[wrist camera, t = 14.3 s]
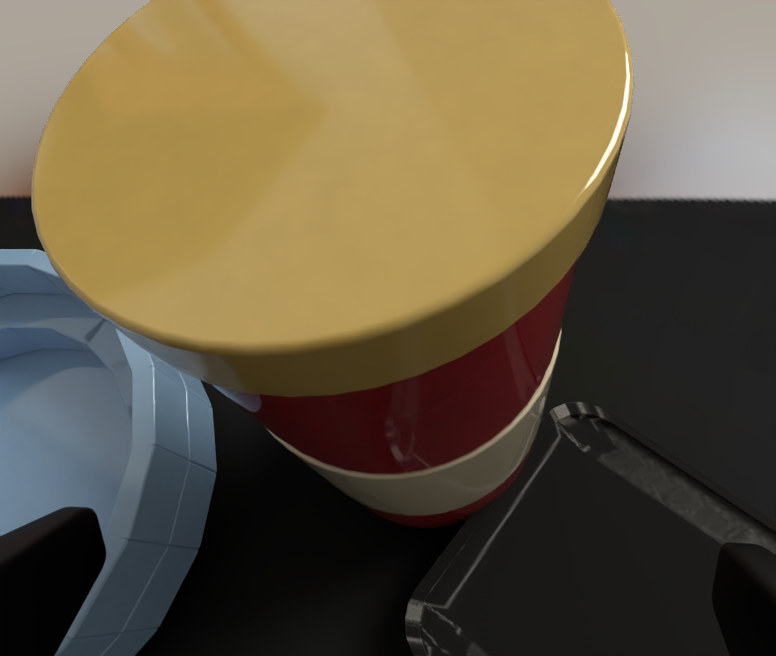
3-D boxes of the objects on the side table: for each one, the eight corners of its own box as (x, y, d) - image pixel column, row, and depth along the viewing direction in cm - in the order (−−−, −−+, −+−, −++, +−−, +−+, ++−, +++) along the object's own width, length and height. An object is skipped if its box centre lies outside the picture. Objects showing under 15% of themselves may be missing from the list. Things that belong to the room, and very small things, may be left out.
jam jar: (417, 589, 14) (204, 533, 4) (282, 414, 17) (-43, 113, 7) (589, 423, 15) (793, 29, 5) (434, 287, 18) (358, -132, 8)
